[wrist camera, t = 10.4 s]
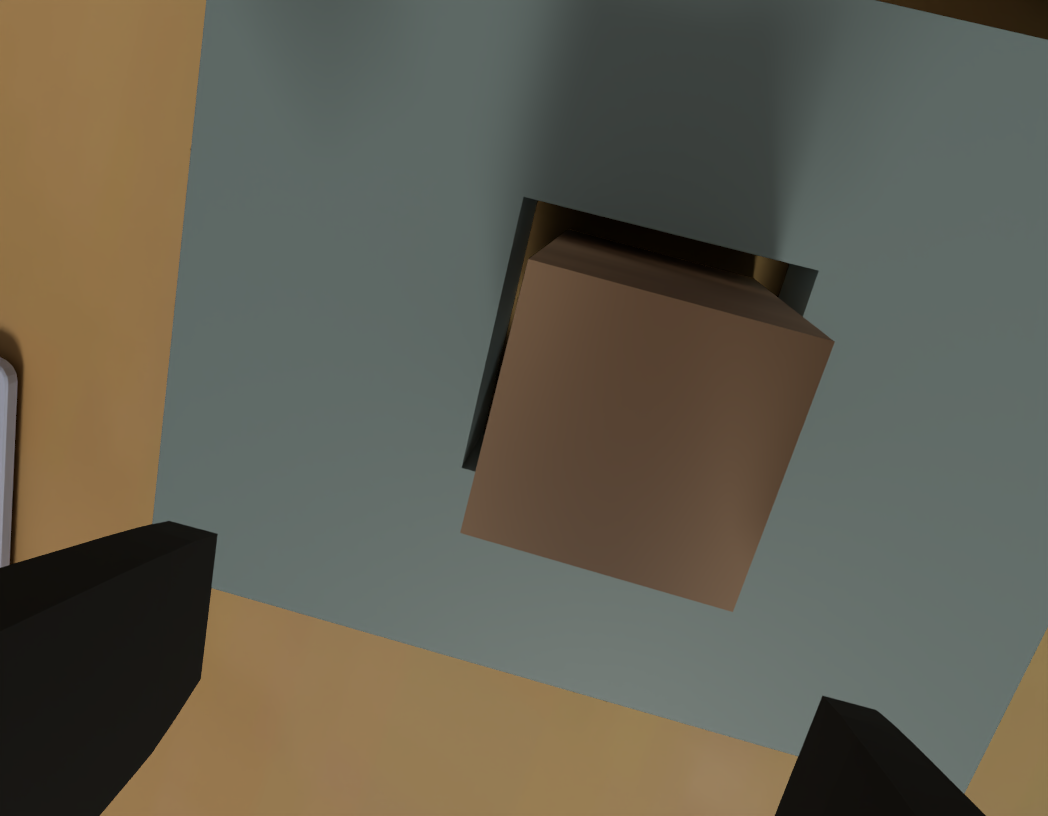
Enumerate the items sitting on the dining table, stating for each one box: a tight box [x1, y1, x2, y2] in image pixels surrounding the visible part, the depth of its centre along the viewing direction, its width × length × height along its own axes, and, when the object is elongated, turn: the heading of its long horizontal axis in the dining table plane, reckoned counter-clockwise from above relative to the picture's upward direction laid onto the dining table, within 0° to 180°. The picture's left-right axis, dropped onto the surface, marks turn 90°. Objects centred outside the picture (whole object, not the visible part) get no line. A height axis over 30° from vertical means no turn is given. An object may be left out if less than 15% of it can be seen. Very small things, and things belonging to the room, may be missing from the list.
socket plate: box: [152, 0, 1048, 793], centre depth 16 cm, size 18×14×2 cm
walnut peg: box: [460, 229, 835, 612], centre depth 14 cm, size 4×4×7 cm
